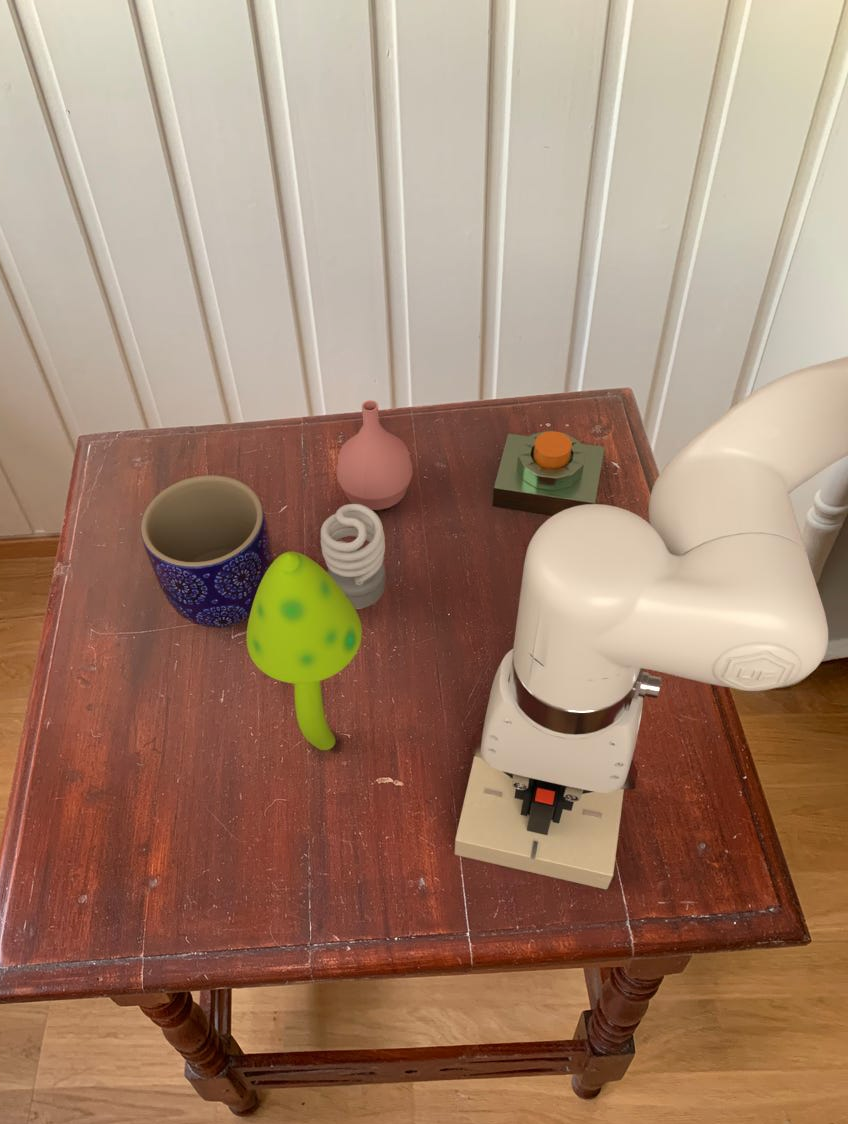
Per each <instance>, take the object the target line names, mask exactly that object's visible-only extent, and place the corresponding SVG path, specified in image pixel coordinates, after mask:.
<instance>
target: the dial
mask: <svg viewBox="0 0 848 1124" xmlns="http://www.w3.org/2000/svg"><path fill="white" fill-rule="evenodd" d="M558 785H559V784H555V783H551V782H546V781H542V780H537V781H536V786H535V791H534V796H533V801H532V806H531V811H530V815H529V821H528V826H527V831H530V832H535V833H539V834H543V835H548V831H549V827H550V823H551V819H552V815H553V811H554V807H555V801H556V796H557V790H558Z"/></svg>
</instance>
